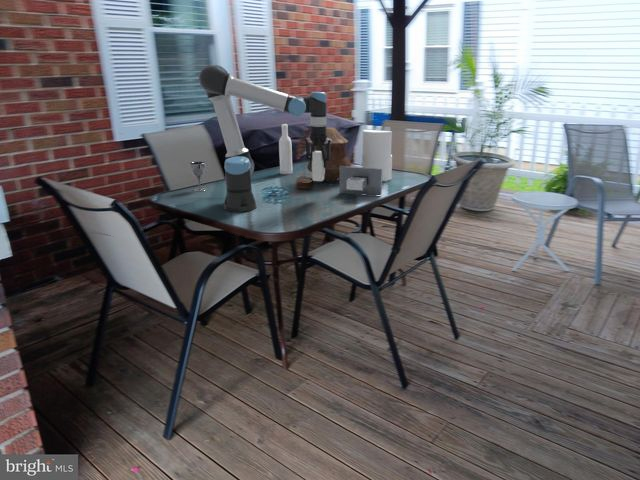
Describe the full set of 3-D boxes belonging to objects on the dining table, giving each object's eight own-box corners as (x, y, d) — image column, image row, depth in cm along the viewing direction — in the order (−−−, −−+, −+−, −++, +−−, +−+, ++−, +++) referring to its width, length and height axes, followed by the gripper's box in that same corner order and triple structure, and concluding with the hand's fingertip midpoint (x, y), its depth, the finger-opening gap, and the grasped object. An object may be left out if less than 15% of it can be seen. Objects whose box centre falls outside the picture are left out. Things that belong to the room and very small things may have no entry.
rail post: (321, 181, 237) (321, 152, 232) (312, 180, 239) (312, 152, 234) (324, 179, 241) (324, 151, 236) (315, 178, 243) (315, 150, 238)
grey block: (375, 201, 237) (376, 173, 233) (333, 197, 245) (333, 170, 240) (381, 195, 248) (382, 168, 243) (340, 192, 255) (340, 166, 250)
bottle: (277, 173, 304) (275, 124, 294) (286, 171, 309) (284, 123, 299) (286, 175, 298) (284, 125, 288) (295, 173, 304) (293, 124, 294)
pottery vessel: (336, 186, 268) (336, 131, 257) (298, 181, 281) (297, 129, 271) (358, 177, 288) (359, 126, 278) (322, 173, 301) (322, 124, 291)
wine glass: (210, 189, 264) (207, 162, 259) (197, 192, 259) (195, 164, 254) (202, 187, 270) (199, 160, 264) (189, 190, 264) (186, 163, 259)
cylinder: (384, 183, 274) (385, 133, 265) (356, 180, 283) (357, 131, 273) (396, 177, 288) (398, 129, 279) (370, 174, 297) (371, 128, 287)
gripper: (338, 125, 231) (337, 173, 239) (304, 124, 237) (304, 171, 245) (333, 127, 225) (332, 176, 233) (298, 125, 230) (299, 174, 238)
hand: (318, 173), depth 239 cm, fingers closed on rail post, 4 cm apart
